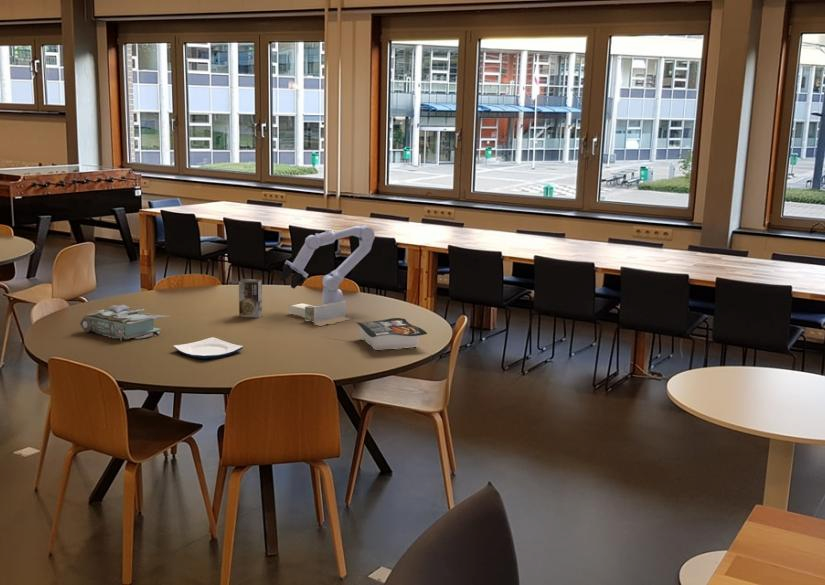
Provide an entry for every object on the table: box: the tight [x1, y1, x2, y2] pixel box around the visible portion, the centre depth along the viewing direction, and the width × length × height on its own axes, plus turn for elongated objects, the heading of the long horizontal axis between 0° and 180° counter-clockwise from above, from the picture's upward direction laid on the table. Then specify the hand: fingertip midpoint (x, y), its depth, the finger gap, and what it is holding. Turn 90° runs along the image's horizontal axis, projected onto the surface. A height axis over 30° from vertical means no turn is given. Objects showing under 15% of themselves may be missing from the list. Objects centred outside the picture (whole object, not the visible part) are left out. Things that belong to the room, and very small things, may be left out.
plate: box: [172, 336, 244, 360], centre depth 316 cm, size 20×20×3 cm
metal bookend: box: [313, 300, 347, 324], centre depth 368 cm, size 19×4×8 cm, turn 141°
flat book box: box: [288, 303, 317, 316], centre depth 380 cm, size 8×12×4 cm, turn 51°
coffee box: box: [238, 278, 263, 318], centre depth 373 cm, size 9×6×16 cm
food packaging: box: [354, 317, 428, 351], centre depth 337 cm, size 25×8×23 cm
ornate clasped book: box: [79, 304, 170, 342], centre depth 339 cm, size 23×10×30 cm
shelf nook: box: [304, 303, 331, 321], centre depth 372 cm, size 14×8×6 cm, turn 141°
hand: (287, 284), depth 385 cm, fingers open, 7 cm apart
